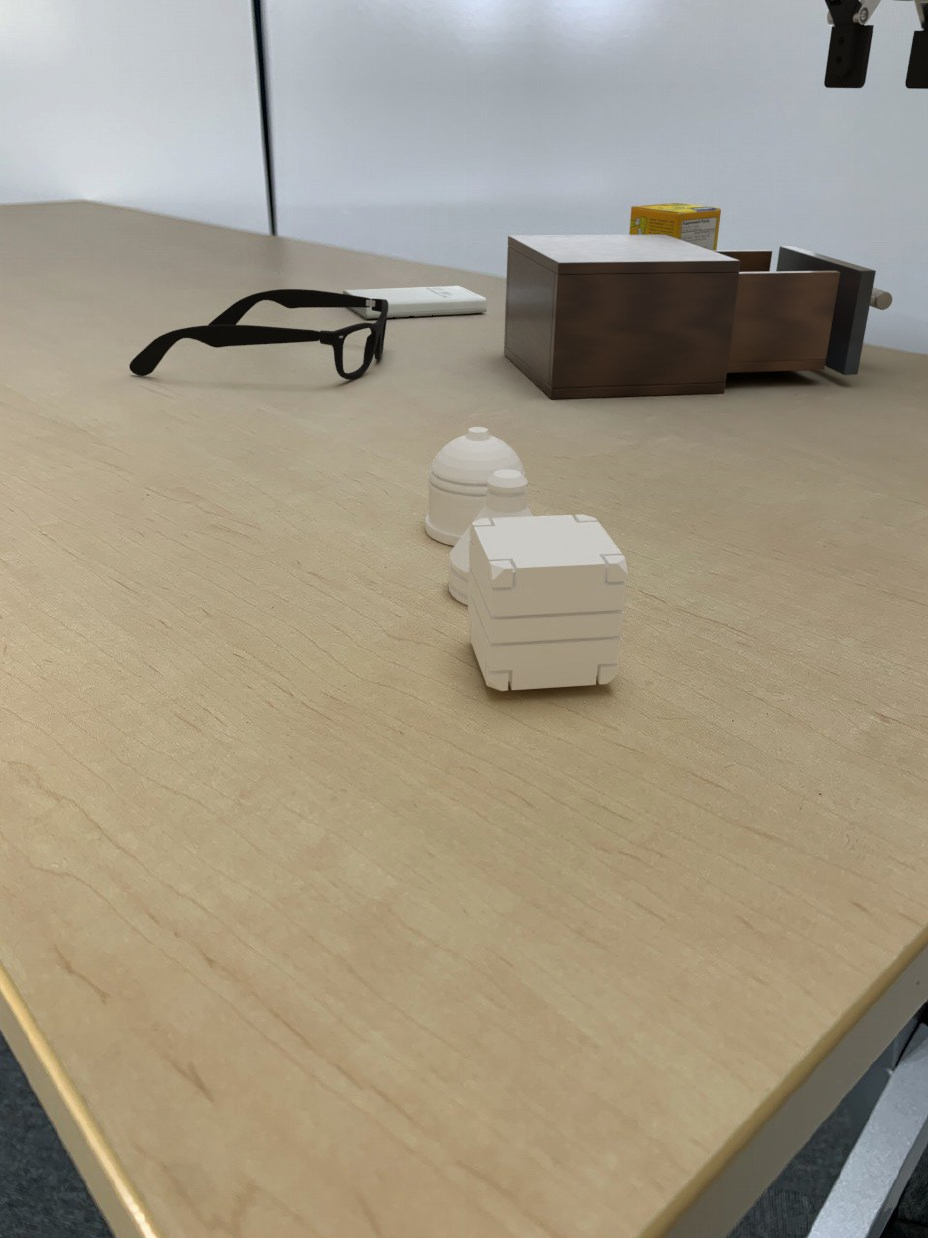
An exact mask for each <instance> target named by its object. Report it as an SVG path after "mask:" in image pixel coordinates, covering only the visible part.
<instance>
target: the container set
mask: <svg viewBox="0 0 928 1238" xmlns="http://www.w3.org/2000/svg"><path fill="white" fill-rule="evenodd" d="M427 479H428V480H427V484H428V512H427V513H426V515H425V517H424V529H425V533H426V534H427V535H428V536H429V537H430V538H431V539H433V540H434V541H437V542H439V543H442V544H445V545H449V546H453V547H452V549H451V550H450V553H449V555H448V560H449V565H448V579H449V581H448V591H449V593H450V595H451V596H452V597H453V598H454V599H455V600H456V601H458V602H460V603H461V604H463V605H466V606H467V615H468V616H467V628H468V638H469V640H470V643H471V646H472V649H473V651H474V653H475V657H476V660H477V662H478V666H479V669H480V671H481V674H482V676H483V679H484V681H485V684H486V686H487V687H489V688H492V689H494V690H497V691H500V692H505V691H509V687H510V689H511V691H522V690H535V689H536V690H537V689H550V688H551V689H553V688H565V687H566V688H567V687H582V686H583V687H585V686H596V684H597V683H598V685H607V684H608V683H610V682H611V681H613V679H615V678H616V677H617V676H618V674H619V673H620V665H619V664H620V663H621V652H622V642H623V638H622V637H623V633H624V632H623V631H624V621H625V612H624V610H625V609H626V600H627V589H628V584H627V583H626V582H628V579H629V572H628V565H627V560H626V559H627V558H626V556H625V555H624V554H623V553H622V551H621V550H620V548H619V547H618V546H617V545H616V543H615V542H614V540H613V539H612V538H611V536H610V535H609V533H607V531H606V530H605V528H604V527H603V525H602V524H601V523H600V522H599V521H598V519H597V518H596V517H594V516H590V515H586V514H582V513H581V514H574V516H573V515H572V514H559V515H558V514H557V515H555V514H554V515H553V514H552V515H534V514H533V513H532V511H531V510H530V508H529V507H528V504H527V503H528V490H527V489H528V485H529V484H528V482H529V480H528V479H527V478H526V472H525V470H524V466H523V463H522V461H521V459H520V457H519V455H518V454H517V453H516V451H515V450H514V449H513V448H512V446H510V445H509V444H508V443H506V442H505V441H503V440H502V439H500V438H499V437H498V438H497V437H495V436H493V435H490V432H489V429H488V428H487V427H484V426H483V427H482V426H473V427H469V428H468V429H467V432H466V434H464V435H461V436H459V437H456V438H454V439H452V440H451V441H449V442H448V443H446V444H445V445H444V446H443V447H442V448H441V449H440V450H439V451H438V452H437V454H436V455H435V458H434V459H433V461H432V463H431V465H430V469H429V471H428V478H427Z"/></svg>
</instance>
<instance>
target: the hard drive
mask: <svg viewBox="0 0 928 1238" xmlns="http://www.w3.org/2000/svg"><path fill="white" fill-rule="evenodd" d="M342 294H347V295H354V296H360V297H366V298H370V299H372V298H374V299H386V300H387V301H388V313H387V319H391V318H393V317H395V318H410V317H409V316H414V317H431V316H432V315H433V316H434V317H435V316H450V315H471V314H483V313H486V312H487V311H488V309H487V307H488V300H487V298H486V297H484V296H482V295H480V294H477V293H476V292H473V291H471V290H469V289H467V288H465V287H462V286H460V285H447V286H444V285H443V286H418V287H417V286H414V287H391V288H390V287H389V288H387V287H386V288H364V289H363V288H362V289H360V288H359V289H343V291H342ZM349 310H350V311H352V310H353V311H352V312H354V313H355V312H356V314H357V315H358V316H360V317H361V318H363V319H364V320H371V319H372V320H373V319H378V318H379V316H380V314H381V312H378V311H372V306H371V307H368V308H350V309H349ZM433 316H432V317H433Z"/></svg>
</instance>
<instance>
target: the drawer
mask: <svg viewBox="0 0 928 1238" xmlns="http://www.w3.org/2000/svg"><path fill="white" fill-rule="evenodd" d="M711 251H714V252H717V253H720V254H723V255H725V256H728V257H731V258H734V259H737V260H740V261H741V264H740V271H739V280H738V288H737V296H736V304H735V312H734V320H733V328H732V336H731V344H730V352H729V360H728V368H727V374H733V373H760V372H761V373H763V372H764V373H765V372H795V371H797V372H798V371H799V372H800V371H823V370H825V367H826V368H828V369H831V370H833V371H834V372H837V373H839V374H840V375H843V376H855V375H859V368H860V363H861V358H862V352H863V346H864V341H865V335H866V329H867V323H868V319H869V312H870V307H872V308H874V309H877V310H880V311H885V310H887V309H889V308H890V307H891V305H892V303H893V295H892V293H890V292H888V291H886V290H883V289H879V288H876V287H874V285H875V279H876V273H877V272H876V270H875V269H872V268H869V267H865V266H861V265H858V264H854V263H851V262H848V261H844V260H842V259H839V258H838V259H837V258H834V257H831V256H827V255H824V254H820V253H817V252H813V251H811V250H808V249H805V248H800V247H796V246H794V245H780V246H779V248H778V255H777V262H776V271H771V264H772V257H773V251H772V250H770V249H717V250H711Z"/></svg>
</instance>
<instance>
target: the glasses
mask: <svg viewBox="0 0 928 1238" xmlns="http://www.w3.org/2000/svg"><path fill="white" fill-rule="evenodd" d="M263 301H269V302H274V303H276V304H279V305H281V306H283V307H284V308H286V309H291V310H292V309H293V310H294V309H308V308H309V309H310V308H311V309H312V308H313V309H315V308H318V309H320V308H321V309H322V308H323V309H325V308H328V309H331V308H335V309H336V308H340V309H341V308H342V309H343V308H346V309H347V308H348V309H349V308H368V307H371V306H372V311H378V312H381V314H380V316H379V318H377V320H376V321H375V322H358V323H355V324H351V325H349V326H345V327H342V328H339V329H336V330H320V331H319V330H314V329H307V328H305V329H304V328H294V327H293V328H291V327H279V326H266V325H251V324H238V323H239V322H240V320H242V318H243V317H244V316H245V315H246V314H247V313H248V312H249V311H250V310H251V309H252V308H253V307H254V306H256V304H258V303H260V302H263ZM387 313H388V301H387V300H386V299H374V298H372V299H370V298H366V297H360V296H354V295H347V294H343V293H340V292H333V291H325V290H316V289H303V288H286V289H285V288H281V289H271V290H265V291H261V292H260V291H259V292H256V293H253V294H250V295H247V296H245V297H243V298H241V299H239V300H238V301H236V302H234V303H233V304H231V305H230V306H229V307H228V308H227V309H225V310H224V311H223V312H221V313H220V314H219V315H217V316H216V317H215V318H214V319H213V320H211V322H209V323H208V324H206V325H197V326H195V325H194V326H190V327H189V326H188V327H184V328H178V329H175V330H171V331H168V332H166V333H164V334H161V335H160V336H157V337H156V338H155V339H153V340H152V341H151V342H150V343H148V345H147V346H146V347H144V348H143V349H142V350H140V352H139V353H138V354H136V356H135V357H134V358H133V359H132V360H131V361H130V363H129V365H128V366H129V371H131V373H133V374H134V375H136V376H140V377H145V376H148V375H150V374H151V373H154V371H155V369H156V368H157V367H158V365H159V364H160V362H161V361H162V360H163V359H164V357H165V355H167V353H168V352H169V351H170V349H171V348H172V347H173V346H174V345H175V344H176V343H177V342H179V341H180V340H183V339H191V340H195V341H198V342H200V343H203V344H205V345H207V346H209V347H212V348H215V349H217V348H225V347H241V346H242V347H243V346H258V345H260V346H261V345H277V344H279V345H280V344H281V345H282V344H295V343H296V344H297V343H311V342H319V343H320V344H321V345H326V346H331V347H332V349H333V359H334V365H335V370H336V373H337V374H338V375H339V377H341V378H343V379H344V380H348V381H350V380H351V381H353V380H357V379H359V378H360V377H362V376H363V375H364V374H365V373H366V372H367V371H368V369H369V368H370V365H371V364H372V361H373V359H375V360H377V361H381V360H382V357H383V353H384V346H385V337H386V331H387V330H386V329H387V321H388V318H387ZM366 329H369V330H370V334H369V335H368V336H366V340H365V345H364V350H363V359H362V363H361V366H360V367H359V368H357V369H356V370H354V371H351V372H345V368H344V345H345V340H346V339H347V338H348V336H349V335H351V334H352V333H355V332H358V331H362V330H366Z"/></svg>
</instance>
